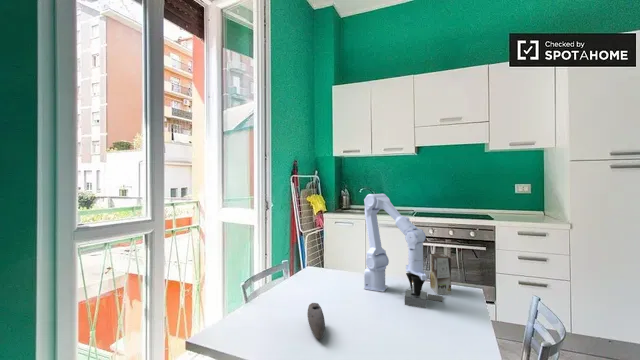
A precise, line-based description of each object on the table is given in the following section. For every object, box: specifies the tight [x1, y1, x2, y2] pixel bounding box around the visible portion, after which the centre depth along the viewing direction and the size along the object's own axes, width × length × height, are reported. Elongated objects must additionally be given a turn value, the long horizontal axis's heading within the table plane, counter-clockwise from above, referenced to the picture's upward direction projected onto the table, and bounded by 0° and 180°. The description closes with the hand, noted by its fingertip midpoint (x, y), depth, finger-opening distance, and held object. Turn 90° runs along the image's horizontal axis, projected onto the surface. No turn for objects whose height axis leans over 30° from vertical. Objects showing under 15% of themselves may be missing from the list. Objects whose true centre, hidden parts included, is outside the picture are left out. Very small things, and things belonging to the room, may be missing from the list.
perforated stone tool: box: [307, 302, 326, 340], centre depth 94 cm, size 15×5×7 cm, turn 8°
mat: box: [427, 293, 444, 303], centre depth 121 cm, size 6×6×1 cm
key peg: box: [412, 281, 419, 296], centre depth 117 cm, size 2×2×8 cm
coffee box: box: [429, 252, 452, 295], centre depth 130 cm, size 9×6×16 cm
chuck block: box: [404, 289, 428, 309], centre depth 120 cm, size 8×15×4 cm, turn 156°
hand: (415, 292), depth 117 cm, fingers closed on key peg, 2 cm apart
